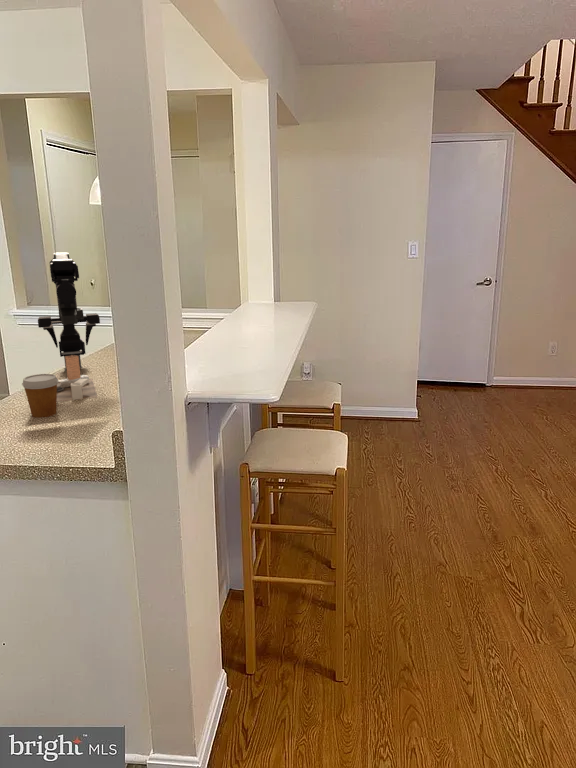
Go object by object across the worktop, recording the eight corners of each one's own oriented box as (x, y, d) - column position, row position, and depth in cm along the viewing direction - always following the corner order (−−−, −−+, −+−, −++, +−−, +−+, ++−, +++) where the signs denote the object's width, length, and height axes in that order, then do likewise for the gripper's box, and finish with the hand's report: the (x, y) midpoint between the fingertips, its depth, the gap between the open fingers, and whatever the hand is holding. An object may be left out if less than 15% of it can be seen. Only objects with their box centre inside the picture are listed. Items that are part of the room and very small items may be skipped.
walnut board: (46, 386, 198) (46, 383, 197) (92, 382, 203) (92, 378, 203) (46, 406, 176) (46, 402, 176) (98, 400, 182) (97, 397, 181)
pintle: (44, 388, 191) (43, 377, 190) (64, 386, 193) (62, 376, 192) (44, 393, 185) (43, 382, 184) (64, 391, 188) (63, 380, 187)
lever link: (44, 389, 189) (40, 360, 186) (82, 379, 200) (80, 353, 197) (51, 391, 186) (48, 362, 184) (90, 381, 197) (87, 354, 194)
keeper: (71, 393, 186) (70, 379, 185) (89, 391, 188) (87, 377, 186) (72, 399, 179) (71, 385, 177) (90, 397, 181) (89, 384, 179)
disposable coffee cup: (54, 423, 161) (49, 382, 158) (20, 423, 162) (15, 382, 158) (67, 412, 171) (63, 373, 167) (35, 412, 171) (30, 373, 168)
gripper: (34, 303, 176) (41, 353, 180) (98, 299, 182) (103, 348, 186) (35, 299, 186) (41, 347, 190) (96, 296, 192) (100, 342, 196)
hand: (72, 346), depth 190 cm, fingers open, 9 cm apart
